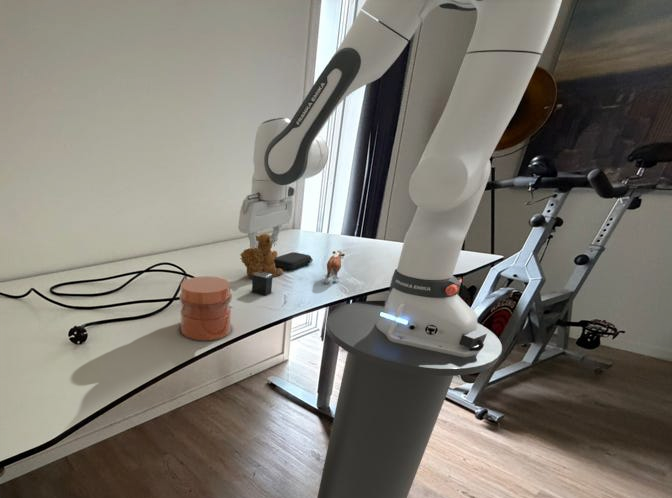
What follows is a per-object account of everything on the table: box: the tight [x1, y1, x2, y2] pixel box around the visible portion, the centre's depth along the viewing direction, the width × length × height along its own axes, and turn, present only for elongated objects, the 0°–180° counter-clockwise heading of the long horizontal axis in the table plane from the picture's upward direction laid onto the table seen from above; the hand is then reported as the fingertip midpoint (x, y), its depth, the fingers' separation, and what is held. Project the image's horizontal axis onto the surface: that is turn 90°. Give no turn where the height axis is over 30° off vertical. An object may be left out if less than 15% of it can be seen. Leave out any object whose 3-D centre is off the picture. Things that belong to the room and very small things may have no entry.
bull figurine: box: [324, 249, 345, 284], centre depth 120 cm, size 4×13×8 cm, turn 152°
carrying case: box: [274, 251, 314, 271], centre depth 136 cm, size 11×3×15 cm
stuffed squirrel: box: [239, 233, 284, 279], centre depth 124 cm, size 10×14×13 cm
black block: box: [251, 271, 273, 296], centre depth 112 cm, size 5×3×6 cm, turn 45°
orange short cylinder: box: [178, 275, 233, 341], centre depth 89 cm, size 12×12×12 cm
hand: (263, 244), depth 107 cm, fingers open, 8 cm apart
